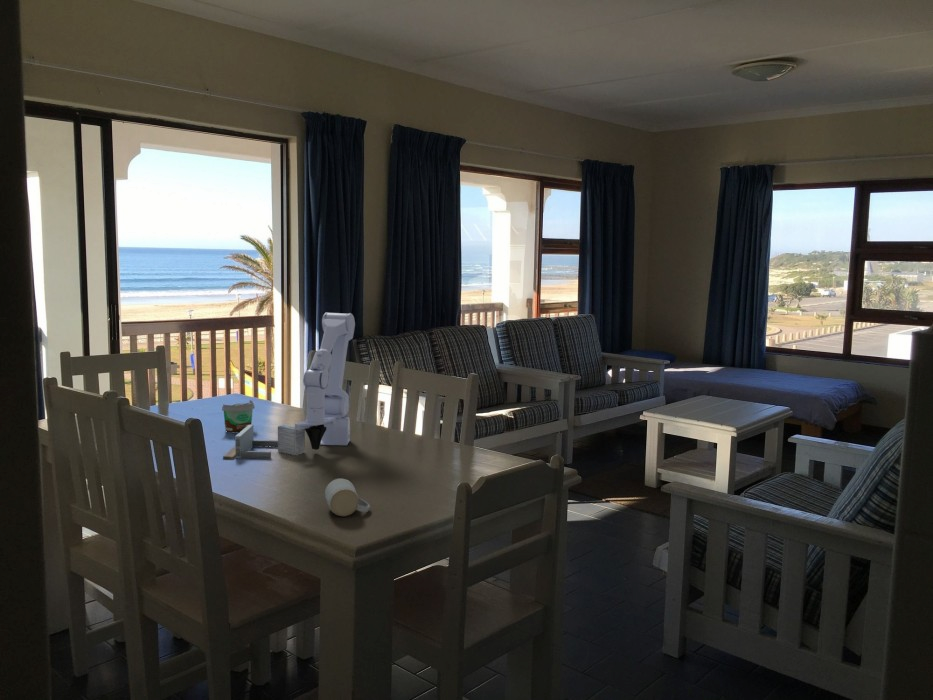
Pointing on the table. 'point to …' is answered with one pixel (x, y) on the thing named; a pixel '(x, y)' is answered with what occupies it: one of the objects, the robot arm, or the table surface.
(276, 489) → the table surface
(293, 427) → the medicine box
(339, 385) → the robot arm
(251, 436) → the door panel
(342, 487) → the ceramic mug
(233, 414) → the food container
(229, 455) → the threshold strip
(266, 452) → the keeper cleats
